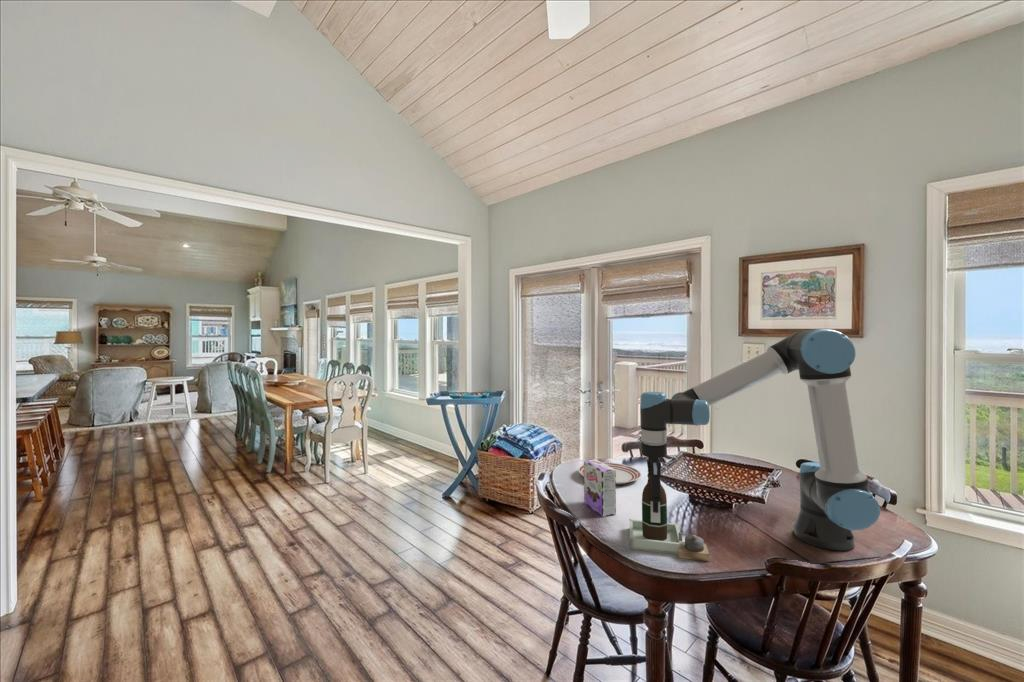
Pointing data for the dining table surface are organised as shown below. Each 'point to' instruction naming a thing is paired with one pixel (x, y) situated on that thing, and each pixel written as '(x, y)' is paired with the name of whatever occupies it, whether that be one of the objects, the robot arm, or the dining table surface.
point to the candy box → (600, 487)
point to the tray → (655, 545)
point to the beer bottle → (650, 528)
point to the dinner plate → (620, 472)
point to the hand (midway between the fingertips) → (654, 516)
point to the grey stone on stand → (693, 548)
